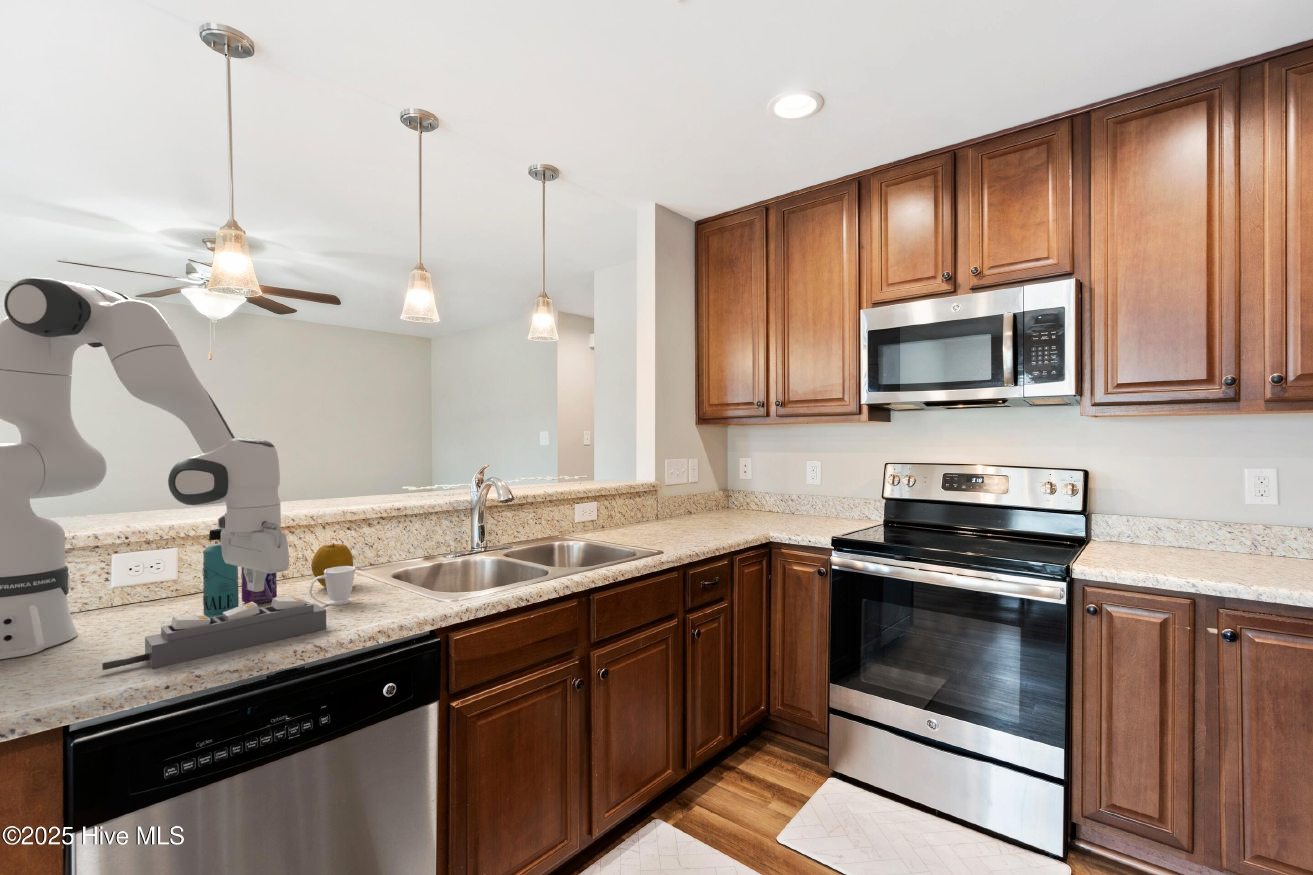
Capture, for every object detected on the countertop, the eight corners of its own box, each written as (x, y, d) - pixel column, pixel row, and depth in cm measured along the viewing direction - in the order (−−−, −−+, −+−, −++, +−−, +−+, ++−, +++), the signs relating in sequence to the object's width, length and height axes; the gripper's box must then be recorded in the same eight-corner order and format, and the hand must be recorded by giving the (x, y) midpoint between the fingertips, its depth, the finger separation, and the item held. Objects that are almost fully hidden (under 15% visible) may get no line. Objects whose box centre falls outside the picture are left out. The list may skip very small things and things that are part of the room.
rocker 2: (229, 623, 114) (227, 615, 114) (224, 620, 116) (222, 611, 116) (259, 612, 117) (257, 604, 117) (254, 609, 120) (252, 601, 120)
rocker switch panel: (105, 679, 100) (104, 646, 100) (100, 668, 104) (99, 637, 104) (326, 628, 125) (326, 602, 125) (314, 621, 130) (313, 596, 130)
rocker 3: (276, 609, 120) (278, 600, 120) (270, 605, 122) (272, 597, 122) (303, 609, 123) (305, 600, 124) (297, 605, 126) (299, 597, 126)
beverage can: (259, 606, 142) (258, 555, 141) (234, 604, 143) (233, 554, 143) (283, 598, 148) (283, 549, 148) (259, 596, 150) (258, 548, 150)
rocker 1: (174, 629, 108) (177, 619, 108) (170, 624, 110) (173, 615, 110) (208, 628, 111) (210, 618, 112) (203, 624, 114) (205, 614, 114)
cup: (360, 602, 144) (360, 568, 144) (314, 611, 137) (314, 576, 137) (350, 596, 149) (350, 564, 149) (305, 605, 142) (305, 571, 142)
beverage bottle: (228, 614, 135) (227, 525, 135) (246, 618, 132) (245, 527, 132) (196, 622, 129) (194, 529, 129) (213, 626, 127) (212, 531, 126)
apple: (309, 593, 153) (309, 547, 152) (313, 584, 161) (313, 541, 161) (352, 589, 157) (352, 544, 157) (354, 580, 165) (353, 538, 165)
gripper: (297, 521, 115) (299, 593, 115) (248, 515, 126) (250, 580, 126) (261, 526, 110) (263, 601, 110) (213, 519, 121) (215, 587, 121)
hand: (255, 590), depth 118 cm, fingers closed
